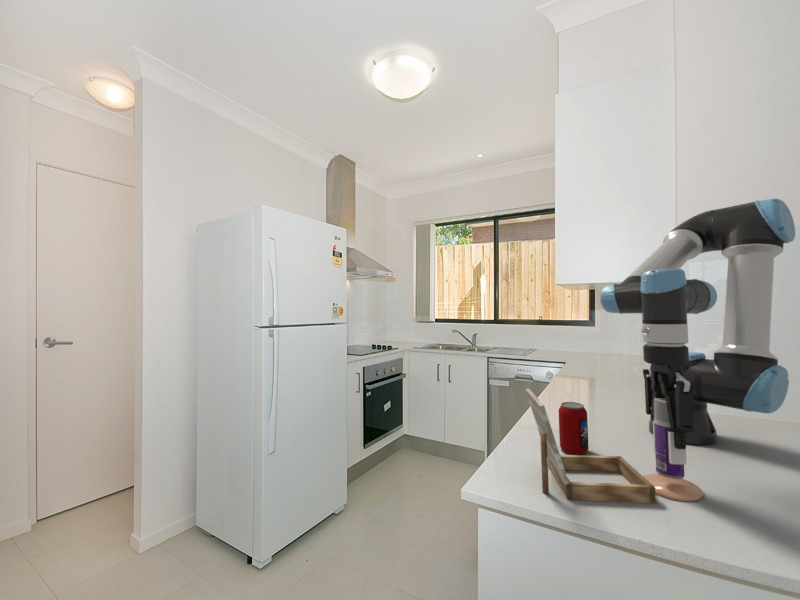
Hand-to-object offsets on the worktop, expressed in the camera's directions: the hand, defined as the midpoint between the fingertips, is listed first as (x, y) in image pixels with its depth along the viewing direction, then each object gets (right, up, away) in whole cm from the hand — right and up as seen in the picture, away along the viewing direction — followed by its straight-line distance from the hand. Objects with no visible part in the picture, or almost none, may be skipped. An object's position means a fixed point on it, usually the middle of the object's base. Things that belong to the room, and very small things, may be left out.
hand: (669, 457), depth 74 cm
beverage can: (-10, -7, +20) cm, 23 cm away
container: (0, -3, 0) cm, 3 cm away
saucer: (0, -6, 0) cm, 6 cm away
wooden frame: (-16, -7, +3) cm, 17 cm away
